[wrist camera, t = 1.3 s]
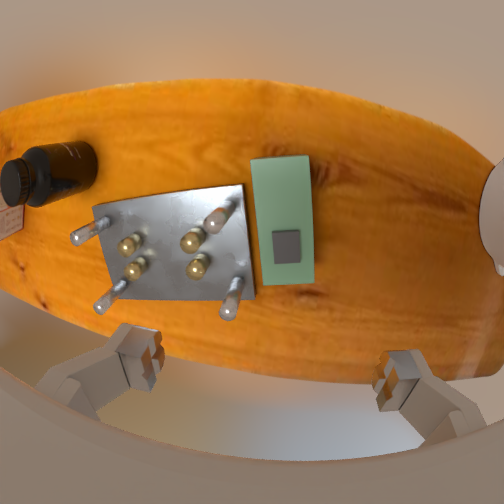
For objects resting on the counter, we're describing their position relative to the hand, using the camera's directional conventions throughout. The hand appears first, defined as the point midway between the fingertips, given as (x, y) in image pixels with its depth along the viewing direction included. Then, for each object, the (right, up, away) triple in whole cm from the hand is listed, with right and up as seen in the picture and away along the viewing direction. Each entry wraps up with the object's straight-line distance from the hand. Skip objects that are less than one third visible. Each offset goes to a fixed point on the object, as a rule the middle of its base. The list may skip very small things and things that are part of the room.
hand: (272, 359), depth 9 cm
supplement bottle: (-23, +15, +20) cm, 34 cm away
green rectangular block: (+3, +8, +19) cm, 21 cm away
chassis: (-10, +4, +22) cm, 25 cm away
